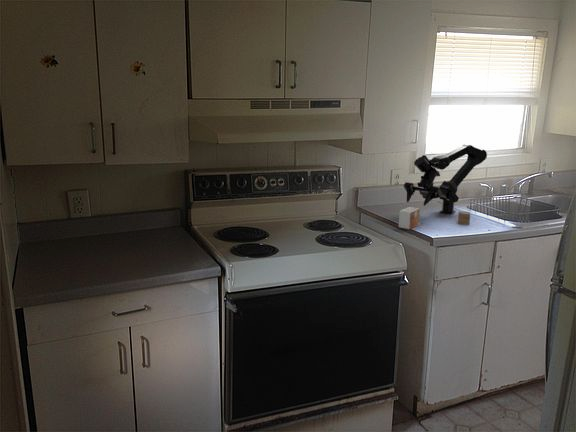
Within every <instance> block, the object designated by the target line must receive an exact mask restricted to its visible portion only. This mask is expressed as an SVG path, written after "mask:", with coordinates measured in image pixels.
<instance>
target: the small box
mask: <svg viewBox="0 0 576 432" xmlns="http://www.w3.org/2000/svg"><path fill="white" fill-rule="evenodd" d="M420 210H421V208H419V207H412V206H408V207H406V208H403V209H401V210H399V216H398V217H399V218H398V226H397V227H398V228H401V229H407V230H411V229H412V228H414V227H418V226H419V223H420Z"/></svg>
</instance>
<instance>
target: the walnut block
mask: <svg viewBox="0 0 576 432" xmlns="http://www.w3.org/2000/svg"><path fill="white" fill-rule="evenodd" d="M457 215H458V216H457V222H458V223H457V224H461V225H470V222H471V221H470V220H471V212H470V211H466V210H465V211H464V210H459V211H458V214H457Z"/></svg>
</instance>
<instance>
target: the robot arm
mask: <svg viewBox="0 0 576 432" xmlns="http://www.w3.org/2000/svg"><path fill="white" fill-rule="evenodd" d="M465 155H467V159H466V160H465V162H464V163H463V165H461V167H460V168H459V170H458V171H457V172H456V173H455V174H454V175H453V177H452V178H451V179H450V180H448V181H446V180H444V181H442V183H441V184H440V185H438V186H435V185H434V181H435V179H436V177H440V176H441V174H440V171H439V170H442V171H443V170H445V169H446V168H447V167H449V166H450V164H451V163H452V162H455V161H456V160H458V159H459V158H461V157H463V156H465ZM487 157H488V153H487V151H486V150H485V149H483V148H482V149H481V148H477V147H475V146H473V145H471V144H467V143H464V144H462V145H461V146H460V147H457V148H456V149H453V150H452V151H450V152H448V153H446V154H441V155H437V156H433V157H432V159H429V158H428V156H427V155H425V154H423V155H422V156H420V157H418V158H416V159H415V161H414V162H413V163H414V164H413V165H414V166H415V167H416V168H417V169H418V170H419V172H421V173H423V175H421V176H420V180H419V182H417V186H416V185H415V184H414V183H413V182H408V181H406V182H405V183H404V184H403V188H404V190H405V192H406V203H409V202H410V200H411V199H412V196H414V195H415V194H414V193H415V192H416V191H418V192H419V195H421V196H422V198H423V199H424V201H423V204H422V205H423V206H426V205H427V204H429V202H430V201H432V200H434V199H438V198H439V200H442V206H441V207H442V208H441V209H440V210H439V213H444V214H449V215H453V214H455V213H456V210H454V209H455V203H458V202H459V199H460V198H459V196H458V195H457V192H458V188H459V187H460V184H461V183H462V182H463V181H464V180H465V179H466V177H468V175H469V174H470V173H471V171H472V170H473V169H474V168H475V167H476V166H478V165H480V164H482V163H483V162H484V161H485V160H487Z"/></svg>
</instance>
